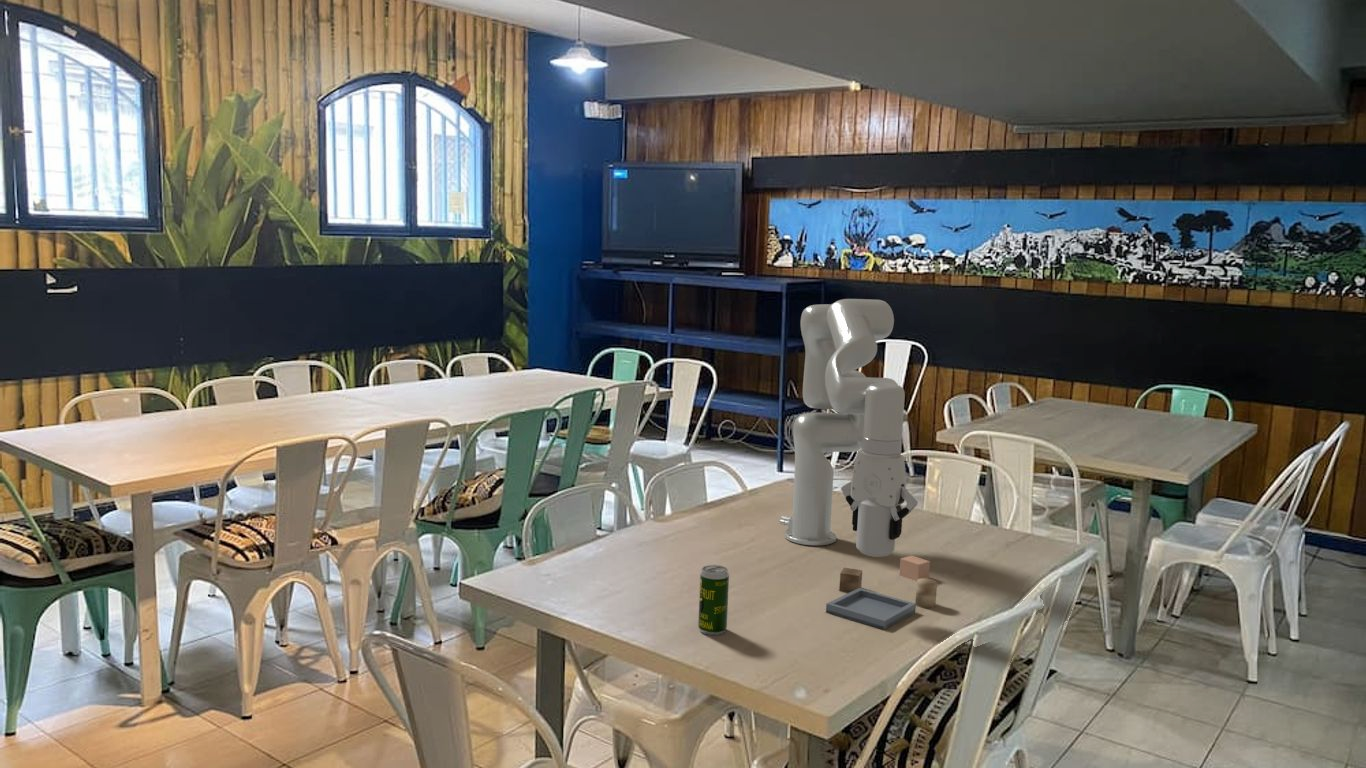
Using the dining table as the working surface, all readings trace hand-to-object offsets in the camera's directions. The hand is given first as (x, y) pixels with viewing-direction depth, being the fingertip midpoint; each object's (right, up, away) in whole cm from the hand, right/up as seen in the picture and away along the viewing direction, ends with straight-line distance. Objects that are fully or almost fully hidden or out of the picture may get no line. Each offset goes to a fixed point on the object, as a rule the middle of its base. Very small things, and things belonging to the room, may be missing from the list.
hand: (876, 533), depth 204 cm
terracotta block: (+13, -13, +25) cm, 32 cm away
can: (0, -4, +1) cm, 4 cm away
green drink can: (-33, -17, -10) cm, 38 cm away
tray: (-1, -16, +2) cm, 16 cm away
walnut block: (-3, -14, +16) cm, 21 cm away
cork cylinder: (+12, -16, +8) cm, 21 cm away
